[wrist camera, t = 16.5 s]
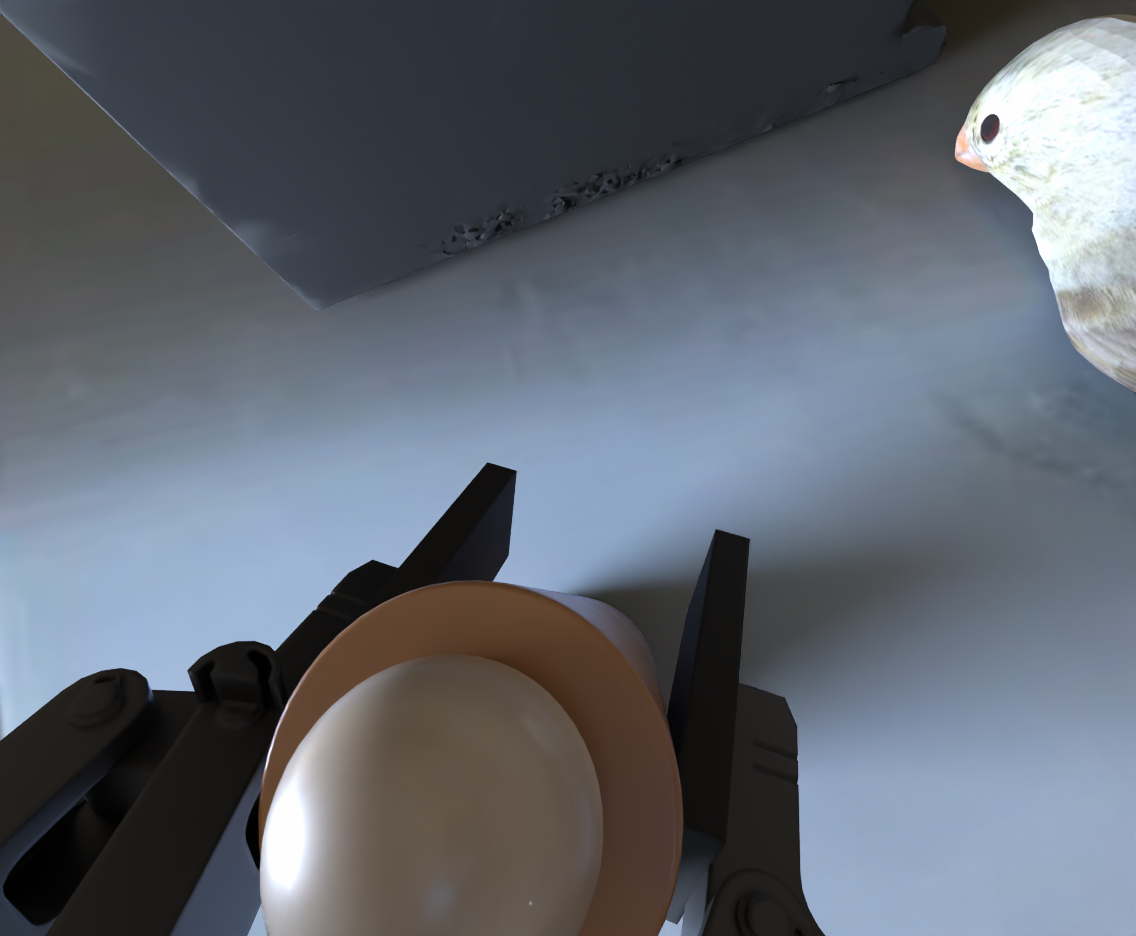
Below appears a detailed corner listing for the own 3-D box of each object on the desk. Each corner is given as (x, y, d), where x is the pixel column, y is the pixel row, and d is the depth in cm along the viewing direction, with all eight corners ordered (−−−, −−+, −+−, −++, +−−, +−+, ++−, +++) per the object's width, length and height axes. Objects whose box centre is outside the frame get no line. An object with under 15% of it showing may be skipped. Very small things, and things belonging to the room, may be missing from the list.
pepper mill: (630, 797, 16) (583, 1522, 3) (471, 735, 17) (-43, 1119, 4) (677, 626, 17) (781, 682, 4) (524, 575, 18) (229, 497, 5)
